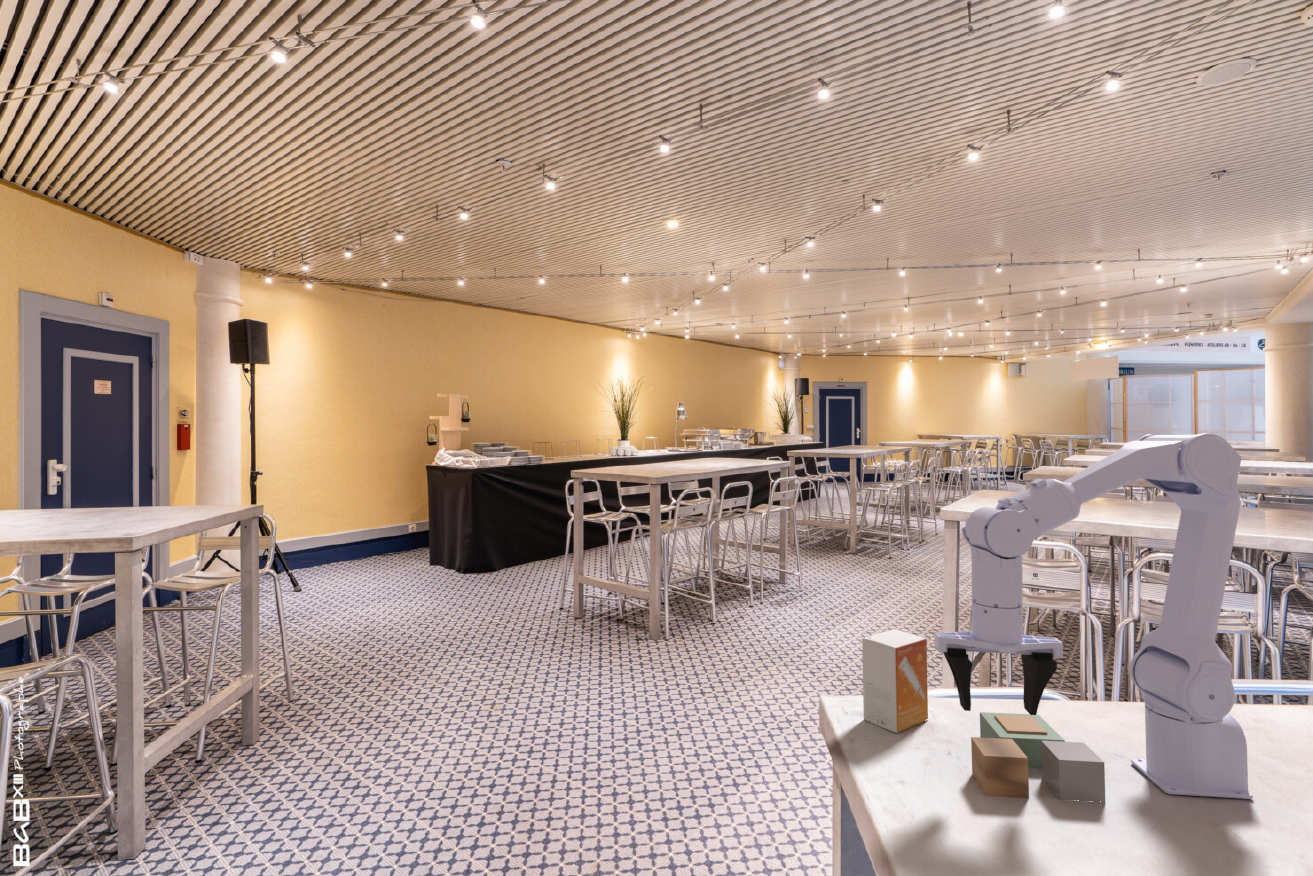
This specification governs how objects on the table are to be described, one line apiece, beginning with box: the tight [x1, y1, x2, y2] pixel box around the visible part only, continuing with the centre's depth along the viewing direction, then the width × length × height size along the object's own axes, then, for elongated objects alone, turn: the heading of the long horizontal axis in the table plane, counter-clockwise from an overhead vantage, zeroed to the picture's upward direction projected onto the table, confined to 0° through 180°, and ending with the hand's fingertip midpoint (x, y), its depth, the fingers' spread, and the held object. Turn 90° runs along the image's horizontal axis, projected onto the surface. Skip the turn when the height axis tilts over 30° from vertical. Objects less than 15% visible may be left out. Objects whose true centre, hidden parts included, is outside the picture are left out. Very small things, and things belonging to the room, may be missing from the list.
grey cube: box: [1041, 741, 1106, 803], centre depth 80 cm, size 5×5×5 cm
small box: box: [861, 628, 929, 734], centre depth 100 cm, size 8×6×13 cm
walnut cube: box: [970, 736, 1030, 799], centre depth 81 cm, size 5×5×5 cm
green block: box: [979, 711, 1066, 768], centre depth 89 cm, size 8×8×4 cm
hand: (997, 709), depth 81 cm, fingers open, 7 cm apart
